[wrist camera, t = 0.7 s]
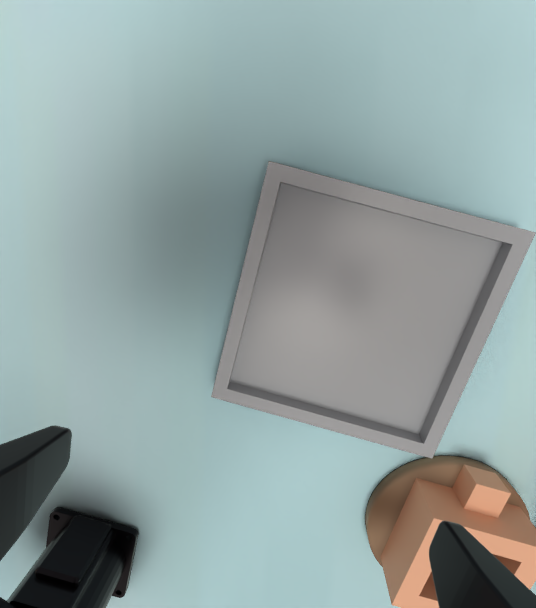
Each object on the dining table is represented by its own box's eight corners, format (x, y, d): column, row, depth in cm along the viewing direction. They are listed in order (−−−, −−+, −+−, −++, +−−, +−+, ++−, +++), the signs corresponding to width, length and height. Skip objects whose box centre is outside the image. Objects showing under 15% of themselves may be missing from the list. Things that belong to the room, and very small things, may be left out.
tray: (423, 442, 22) (432, 458, 21) (216, 385, 23) (211, 397, 21) (517, 231, 19) (535, 232, 17) (271, 164, 19) (268, 161, 18)
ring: (476, 584, 24) (501, 635, 21) (380, 556, 24) (391, 604, 21) (532, 483, 21) (569, 526, 19) (426, 453, 22) (446, 491, 19)
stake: (483, 593, 25) (529, 689, 20) (346, 555, 25) (357, 640, 20) (548, 480, 22) (620, 557, 17) (394, 437, 23) (422, 502, 18)
